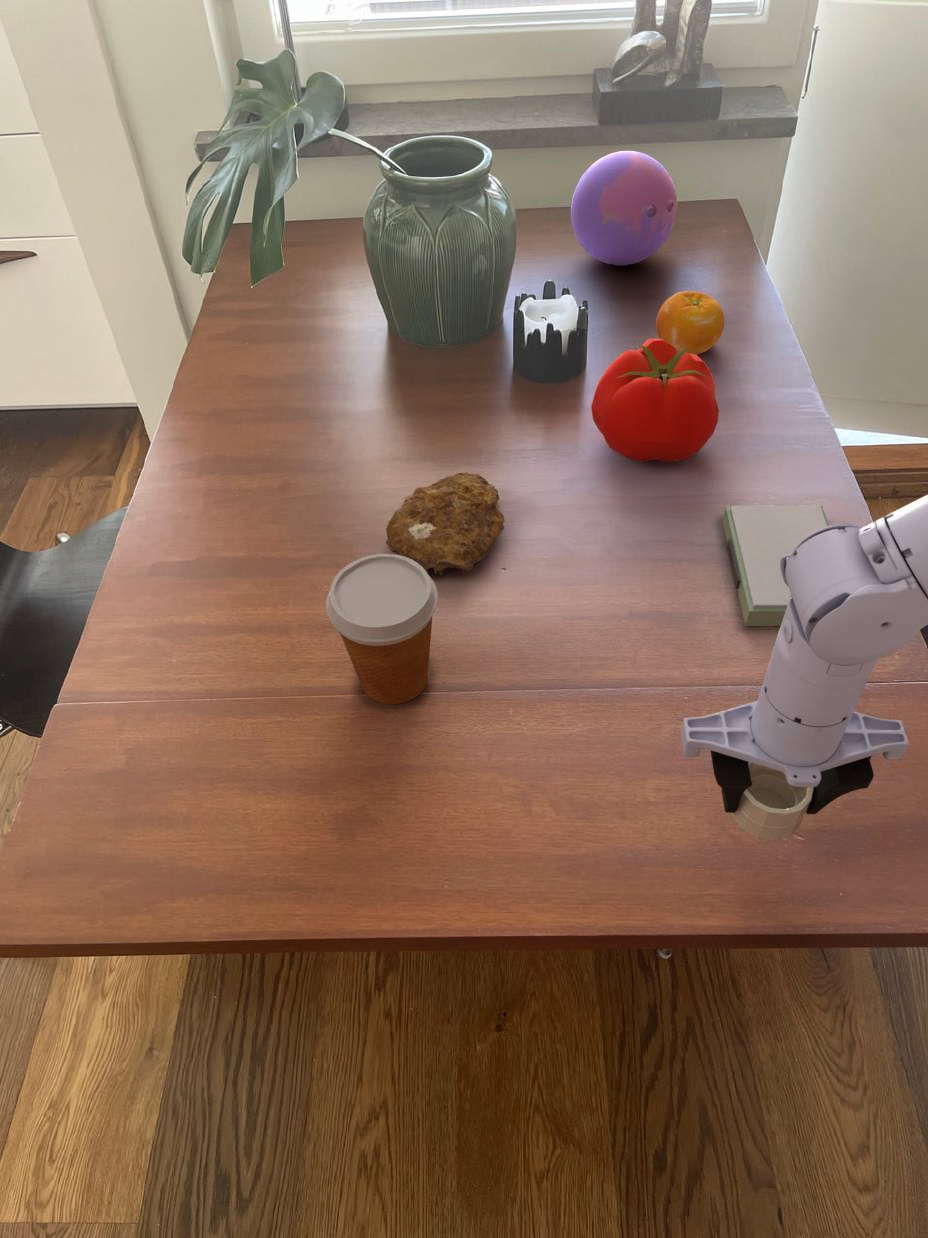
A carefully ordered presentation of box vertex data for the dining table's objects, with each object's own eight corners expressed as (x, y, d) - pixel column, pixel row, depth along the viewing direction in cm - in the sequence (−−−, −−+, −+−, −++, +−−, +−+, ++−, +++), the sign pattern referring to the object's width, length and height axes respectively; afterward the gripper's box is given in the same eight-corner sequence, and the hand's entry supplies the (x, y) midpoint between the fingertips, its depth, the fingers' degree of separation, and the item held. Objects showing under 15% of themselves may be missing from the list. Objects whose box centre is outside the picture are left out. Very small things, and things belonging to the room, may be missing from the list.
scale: (851, 626, 88) (858, 607, 86) (742, 626, 89) (747, 608, 87) (817, 520, 98) (823, 502, 96) (719, 521, 99) (723, 502, 97)
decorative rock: (429, 482, 106) (374, 573, 97) (424, 454, 102) (367, 545, 94) (523, 498, 102) (475, 594, 93) (521, 469, 99) (471, 566, 90)
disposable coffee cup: (325, 700, 85) (302, 612, 76) (373, 627, 90) (357, 538, 82) (417, 732, 82) (405, 645, 73) (461, 656, 88) (455, 566, 79)
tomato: (715, 483, 103) (733, 394, 94) (587, 479, 104) (593, 390, 95) (708, 413, 111) (724, 325, 103) (589, 409, 113) (595, 322, 104)
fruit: (689, 352, 114) (700, 284, 112) (638, 350, 120) (648, 285, 119) (731, 360, 119) (742, 295, 117) (679, 357, 126) (689, 296, 124)
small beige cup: (804, 795, 71) (818, 763, 68) (793, 854, 68) (806, 824, 64) (736, 774, 72) (746, 742, 69) (722, 831, 69) (731, 800, 66)
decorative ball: (621, 295, 131) (630, 188, 120) (548, 259, 139) (550, 155, 128) (691, 259, 137) (706, 153, 126) (617, 226, 145) (625, 124, 134)
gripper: (702, 741, 56) (674, 848, 67) (946, 744, 55) (881, 852, 66) (688, 653, 61) (665, 765, 71) (913, 654, 60) (857, 768, 70)
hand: (767, 801), depth 69 cm, fingers closed on small beige cup, 5 cm apart
